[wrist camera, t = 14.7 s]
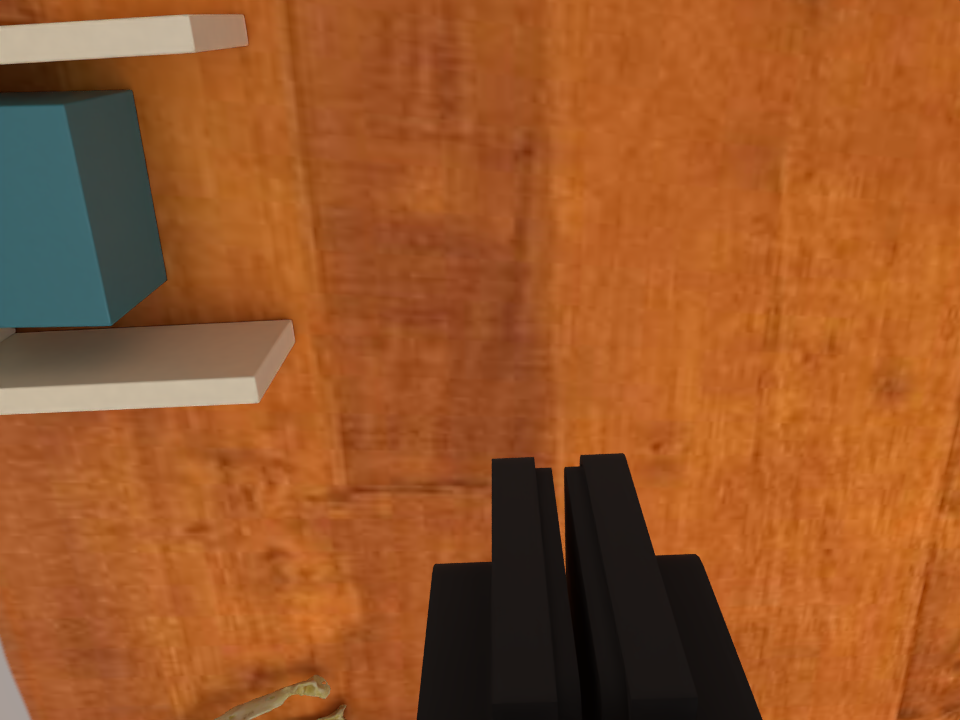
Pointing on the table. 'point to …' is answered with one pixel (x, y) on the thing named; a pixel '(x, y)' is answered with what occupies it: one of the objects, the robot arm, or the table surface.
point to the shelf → (136, 350)
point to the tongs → (242, 714)
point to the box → (74, 210)
